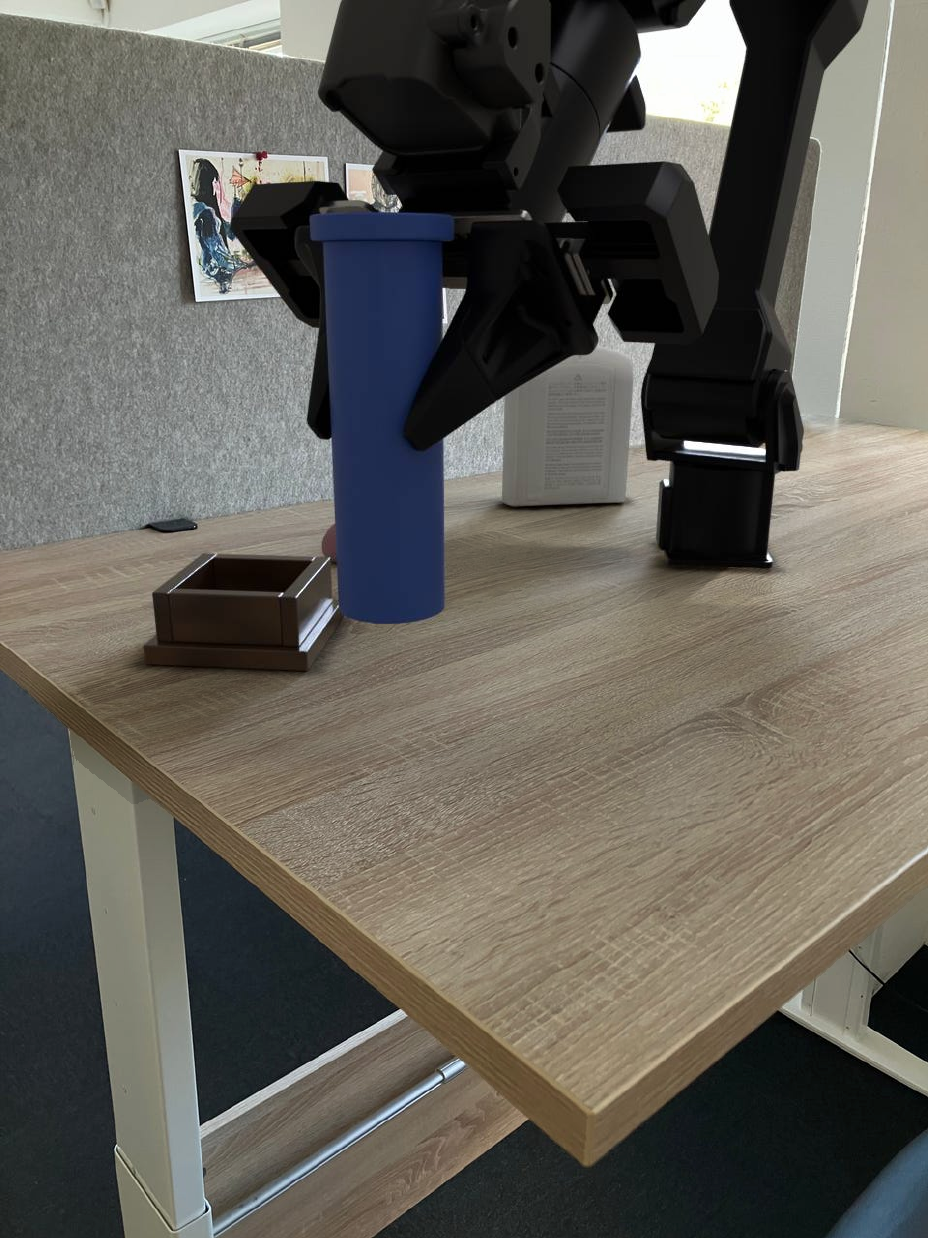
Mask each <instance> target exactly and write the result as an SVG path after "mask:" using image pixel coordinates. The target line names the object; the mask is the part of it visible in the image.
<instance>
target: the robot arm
mask: <svg viewBox="0 0 928 1238" xmlns="http://www.w3.org/2000/svg"><path fill="white" fill-rule="evenodd" d="M869 1H870V0H728V3H729V7H730V9H731V12H732V15H733V18H734V20H735V23H736V25H737V28H738V30H739V33H740V35H741V38H742V41H743V43H744V46H745V53H744V54H745V55H744V61H743V66H742V70H741V75H740V80H739V85H738V90H737V93H736V99H735V104H734V109H733V113H732V118H731V124H730V128H729V134H728V138H727V143H726V147H725V152H724V157H723V162H722V167H721V172H720V177H719V181H718V186H717V192H716V196H715V201H714V205H713V211H712V215H711V220H710V224H709V229H708V228H707V225H706V221H705V218H704V215H703V211H702V207H701V203H700V200H699V196H698V191H697V189H696V186H695V182H694V179H692V178H691V176H690V174H689V173H688V172H687V170H686V169H685V167H684V166H683V165H682V164H681V163H678V162H677V163H676V162H670V161H665V160H662V161H646V162H645V161H644V162H642V161H641V162H627V163H626V162H625V163H610V164H609V163H608V164H593V165H592V162H593V160H594V158H595V156H596V154H597V152H598V149H599V147H600V145H601V143H602V141H603V139H604V137H605V136H606V134H609V133H611V134H612V133H624V132H625V133H626V132H637V131H642V130H643V129H645V126H646V123H647V103H646V99H645V96H644V92H643V89H642V85H641V82H640V79H639V75H638V70H639V68H640V64H641V60H642V48H641V45H640V38H639V34H644V33H645V34H647V33H654V32H661V31H668V30H669V31H670V30H676V29H681V28H684V27H687V26H688V25H689V24H691V22H692V21H693V20H694V19H695V17H696V16H697V14H699V11H701V9H702V8H703V6H704V5H705V4H706V2H707V0H340V3H339V6H338V10H337V14H336V18H335V22H334V25H333V29H332V34H331V37H330V42H329V46H328V50H327V53H326V58H325V61H324V66H323V69H322V73H321V77H320V82H319V86H318V88H317V96H318V98H319V99H320V101H321V103H322V104H323V105H324V106H325V107H326V108H327V109H328V110H329V111H330V112H332V113H337V112H338V113H340V114H341V115H342V116H343V117H344V118H345V119H346V120H347V121H349V122H350V123H351V125H353V126H354V127H355V128H356V129H357V130H358V131H359V132H360V133H361V134H363V135H364V137H366V138H367V139H368V140H369V141H370V142H371V143H372V144H374V145H375V146H376V147H377V148H378V149H379V150H381V151H382V152H380V155H379V156H378V158H377V159H376V162H375V164H374V165H373V167H372V168H371V171H372V173H373V174H374V177H375V178H376V180H377V181H378V183H379V186H380V187H381V189H382V190H383V192H384V193H385V195H386V196H396V197H397V199H398V201H399V202H400V204H401V206H400V208H399V209H398V210H397V212H398V213H434V214H447V215H451V216H453V218H454V239H453V240H452V241H444V242H442V289H449V290H464V294H463V296H462V299H461V300H460V303H459V305H458V307H457V309H456V310H455V313H454V314H453V317H452V318H451V320H450V323H449V325H448V327H447V328H446V331H445V333H444V334H443V339H442V341H441V343H440V345H439V347H438V349H437V352H436V354H435V356H434V358H433V360H432V362H431V364H430V366H429V368H428V370H427V372H426V374H425V376H424V378H423V380H422V382H421V384H420V386H419V388H418V391H417V393H416V395H415V398H414V400H413V403H412V406H411V409H410V411H409V414H408V417H407V420H406V422H405V425H404V428H403V435H404V438H405V439H406V440H407V442H408V443H409V445H410V446H411V447H412V449H413V450H415V451H422V452H423V451H426V450H428V449H429V448H431V447H432V446H433V445H435V444H436V443H438V442H439V441H441V440H442V439H443V438H444V439H445V438H446V437H448V436H449V435H450V434H452V433H453V432H455V431H456V430H458V429H459V428H460V427H462V426H463V425H465V424H466V423H468V422H469V421H471V420H472V419H473V418H475V417H477V416H478V415H479V414H481V413H482V412H484V411H486V410H487V408H489V407H491V406H492V405H493V404H495V403H496V402H499V401H500V400H501V399H503V398H505V395H507V394H508V393H510V392H511V391H513V390H515V389H516V388H518V387H520V386H521V385H523V384H525V383H526V382H528V381H530V380H531V379H533V378H535V377H537V376H538V375H540V374H542V373H543V372H545V371H547V370H548V369H550V368H552V367H554V366H555V365H557V364H559V363H560V362H562V361H564V360H565V359H567V358H569V357H571V356H574V355H589V354H591V353H592V352H593V351H594V350H595V348H596V346H598V344H599V340H600V338H599V335H598V333H597V331H596V327H595V322H596V319H597V318H598V315H599V313H600V311H601V308H602V306H603V305H609V304H611V305H610V307H609V309H608V310H607V313H606V314H607V317H608V320H609V321H610V324H611V325H612V327H613V329H614V330H615V331H616V333H617V335H618V336H619V337H620V339H621V341H622V342H623V343H635V344H636V343H638V344H642V343H643V344H654V346H653V349H652V355H651V358H650V360H649V362H648V365H647V367H646V371H645V373H644V376H643V380H642V383H641V390H640V407H641V409H640V410H641V418H642V426H643V427H642V428H643V435H644V447H645V455H646V457H645V458H646V460H647V461H649V462H650V461H651V462H657V461H662V462H669V469H668V471H669V473H668V478H666V479H665V478H664V479H661V480H660V481H659V486H658V498H657V499H658V500H657V502H658V503H657V517H656V533H655V540H656V543H657V547H658V548H659V549H660V551H663V553H664V557H665V560H666V564H667V565H668V566H674V567H699V568H700V567H703V568H732V569H733V568H734V569H735V568H736V569H765V570H766V569H767V570H768V569H772V568H773V563H774V560H773V559H772V557H771V555H770V553H769V552H768V550H769V548H768V547H769V539H770V532H771V531H770V529H771V522H772V521H771V519H772V512H773V511H772V510H773V499H774V490H775V480H776V475H777V474H779V473H782V472H784V473H786V472H798V471H799V470H800V465H801V457H802V456H801V455H802V452H803V448H804V444H803V441H804V435H805V429H804V424H803V419H802V416H801V410H800V407H799V403H798V397H797V394H796V390H795V386H794V381H793V377H792V374H791V372H790V371H791V366H792V359H793V358H792V356H793V355H792V351H791V349H790V346H789V343H788V341H787V338H786V336H785V333H784V330H783V327H782V325H781V322H780V321H779V318H778V315H777V312H776V303H777V298H778V292H779V287H780V284H781V280H782V279H781V278H782V275H783V268H784V264H785V259H786V254H787V250H788V245H789V242H790V241H789V240H790V235H791V231H792V226H793V221H794V217H795V212H796V207H797V202H798V198H799V193H800V188H801V183H802V178H803V175H804V174H803V173H804V168H805V164H806V159H807V155H808V149H809V144H810V139H811V136H812V130H813V126H814V122H815V117H816V112H817V108H818V107H817V106H818V102H819V97H820V93H821V88H822V83H823V78H824V75H825V72H826V70H827V69H828V68H829V66H830V65H831V64H832V63H833V62H834V61H835V59H836V58H837V57H838V56H839V55H840V54H841V52H842V51H843V50H844V49H845V48H846V47H847V46H848V44H850V42H851V41H852V40H853V39H854V38H855V36H856V35H857V34H858V33H859V32H860V30H861V29H862V27H863V23H864V19H865V15H866V11H867V8H868V5H869ZM358 212H380V210H379V209H377V208H376V207H375V206H374V205H373V204H371V203H370V202H367V201H364V200H362V199H361V200H360V199H351V200H350V199H349V198H348V196H347V195H346V192H345V191H344V190H343V187H342V186H341V184H340V183H339V182H335V181H334V182H333V181H322V180H307V181H290V182H271V183H270V182H269V183H253V184H252V186H251V187H250V189H249V191H248V192H247V194H246V195H245V196H244V198H243V200H242V201H241V203H240V205H239V206H238V208H237V209H236V211H235V213H234V214H233V215H232V216H231V217H232V218H231V222H230V228H229V230H230V231H231V232H232V234H233V235H234V237H235V238H236V239H237V241H238V242H239V243H240V245H241V247H243V248H244V251H246V253H247V254H248V255H249V256H250V258H251V260H252V261H253V262H254V263H255V265H256V266H257V268H258V269H259V270H260V271H261V272H262V274H263V276H265V278H266V279H267V281H268V282H269V283H270V285H271V286H272V287H273V288H274V290H275V291H276V292H277V294H278V295H279V297H280V298H281V299H282V301H283V302H284V303H285V305H286V306H287V307H288V309H289V310H290V311H291V313H292V314H293V316H294V317H295V318H296V319H297V320H299V321H301V322H302V323H304V324H306V325H307V326H309V327H310V328H313V329H318V333H317V340H316V348H315V355H314V362H313V370H312V377H311V384H310V391H309V398H308V406H307V413H306V424H307V426H308V428H310V430H311V431H312V432H313V434H314V435H315V436H316V437H317V438H318V439H319V440H325V441H329V440H331V418H330V395H329V371H328V348H327V325H326V302H325V279H324V256H323V241H313V240H311V236H310V216H311V215H314V214H325V213H358ZM566 214H569V215H570V216H571V218H572V219H573V221H563V220H564V219H565V217H566ZM708 230H709V231H708ZM609 280H610V281H609ZM611 284H612V285H611ZM613 290H614V291H613ZM614 292H615V296H614ZM612 299H613V300H612ZM611 301H612V302H611ZM763 445H764V448H760V447H761V446H763Z"/></svg>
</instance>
